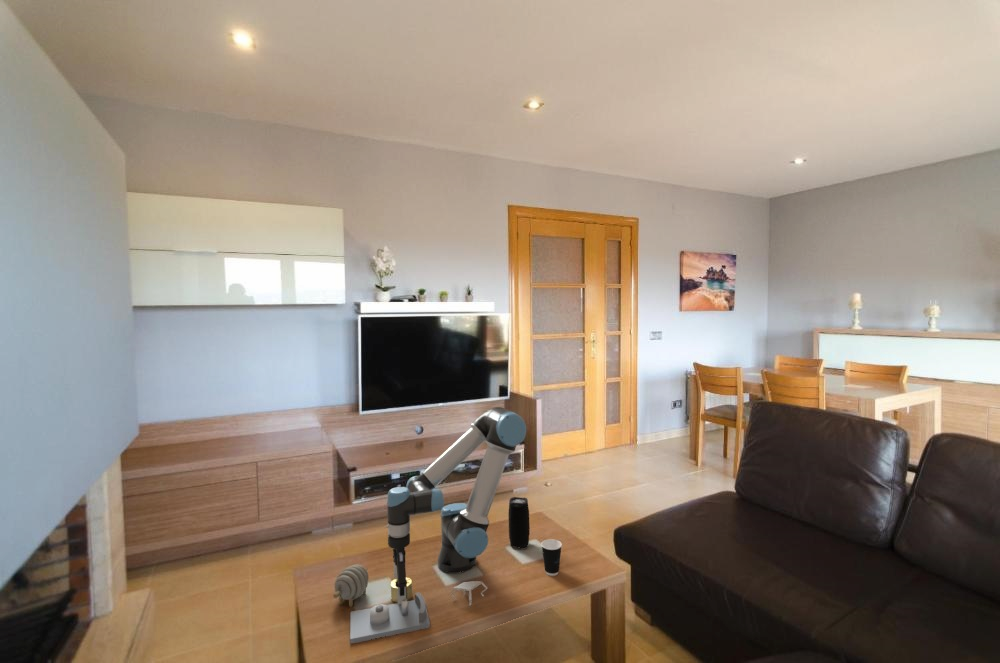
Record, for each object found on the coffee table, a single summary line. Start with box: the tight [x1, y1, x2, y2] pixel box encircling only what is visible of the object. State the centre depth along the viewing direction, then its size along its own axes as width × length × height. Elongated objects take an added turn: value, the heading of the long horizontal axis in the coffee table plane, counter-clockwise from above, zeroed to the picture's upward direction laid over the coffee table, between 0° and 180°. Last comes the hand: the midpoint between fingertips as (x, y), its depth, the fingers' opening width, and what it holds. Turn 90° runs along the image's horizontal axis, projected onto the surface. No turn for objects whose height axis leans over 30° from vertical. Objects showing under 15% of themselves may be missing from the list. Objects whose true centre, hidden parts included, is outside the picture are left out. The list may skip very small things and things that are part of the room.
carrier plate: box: [349, 591, 431, 644], centre depth 157 cm, size 24×14×5 cm, turn 106°
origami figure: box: [450, 580, 489, 606], centre depth 168 cm, size 12×8×5 cm
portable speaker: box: [508, 496, 531, 550], centre depth 206 cm, size 9×9×20 cm
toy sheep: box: [333, 564, 370, 608], centre depth 169 cm, size 11×17×11 cm, turn 165°
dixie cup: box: [540, 538, 563, 577], centre depth 184 cm, size 8×8×11 cm
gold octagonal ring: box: [390, 576, 413, 603], centre depth 171 cm, size 7×7×5 cm
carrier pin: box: [402, 599, 409, 616], centre depth 158 cm, size 2×2×4 cm
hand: (399, 592), depth 171 cm, fingers open, 14 cm apart
